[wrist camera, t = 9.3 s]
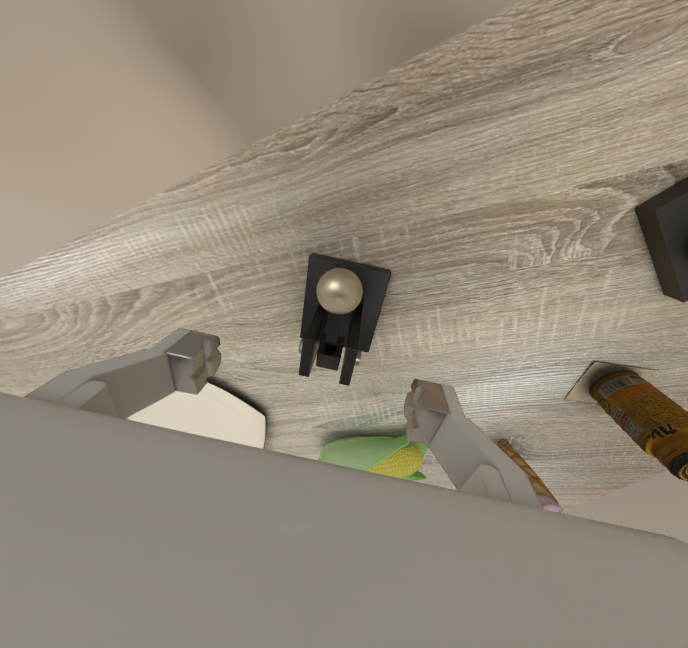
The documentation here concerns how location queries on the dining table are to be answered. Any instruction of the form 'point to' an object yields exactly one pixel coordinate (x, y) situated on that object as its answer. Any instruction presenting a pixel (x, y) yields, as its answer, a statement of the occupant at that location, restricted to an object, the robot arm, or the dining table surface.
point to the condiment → (639, 411)
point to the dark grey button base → (668, 237)
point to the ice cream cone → (532, 479)
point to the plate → (207, 416)
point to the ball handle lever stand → (354, 324)
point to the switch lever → (336, 311)
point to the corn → (378, 455)
